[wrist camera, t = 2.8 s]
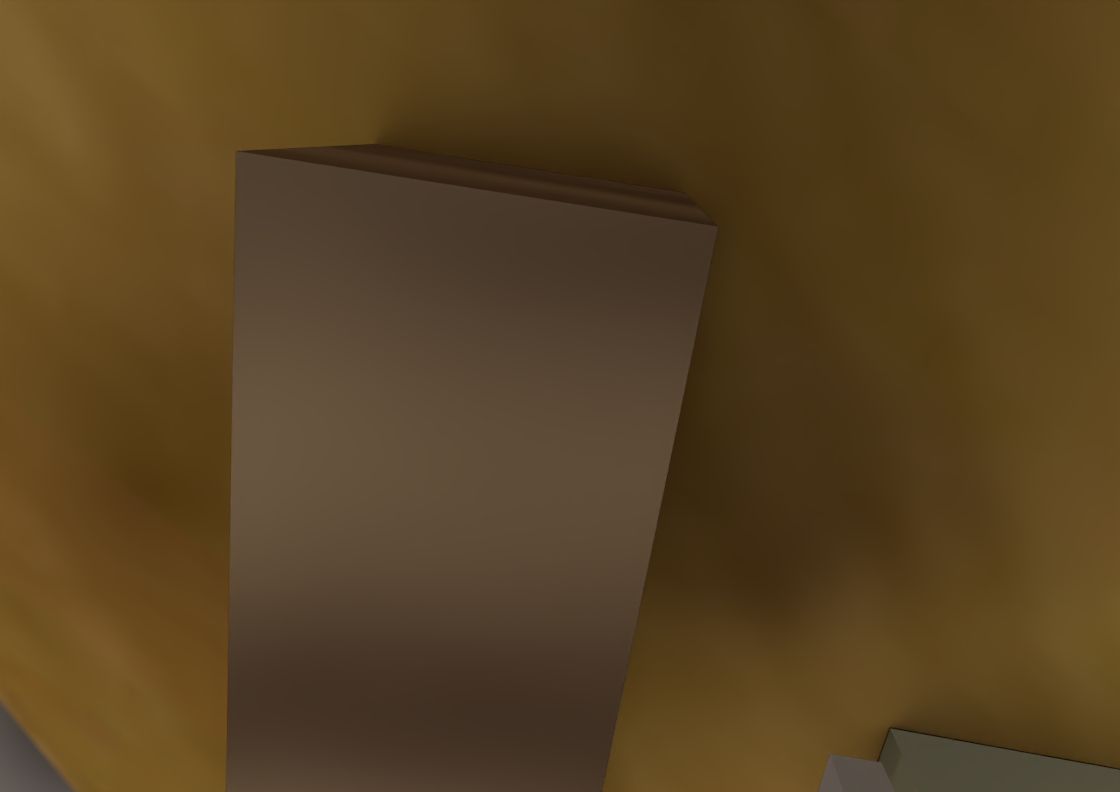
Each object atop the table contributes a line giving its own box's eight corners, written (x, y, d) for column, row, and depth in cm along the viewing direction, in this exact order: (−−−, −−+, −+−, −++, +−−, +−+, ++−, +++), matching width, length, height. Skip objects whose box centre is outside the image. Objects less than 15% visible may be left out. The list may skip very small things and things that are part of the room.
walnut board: (377, 144, 16) (236, 151, 10) (683, 191, 15) (718, 227, 10) (331, 788, 21) (221, 1036, 15) (561, 828, 21) (538, 1095, 15)
